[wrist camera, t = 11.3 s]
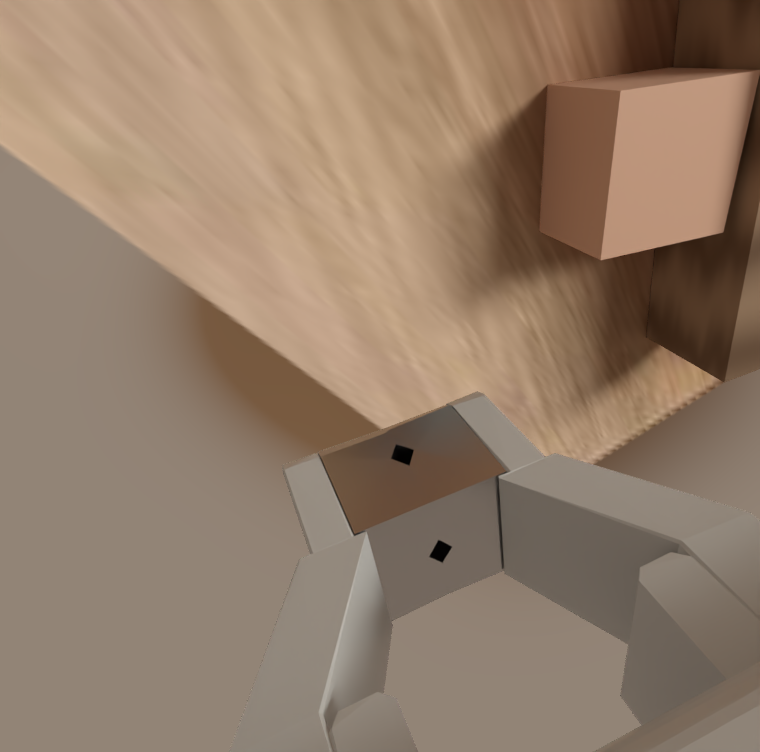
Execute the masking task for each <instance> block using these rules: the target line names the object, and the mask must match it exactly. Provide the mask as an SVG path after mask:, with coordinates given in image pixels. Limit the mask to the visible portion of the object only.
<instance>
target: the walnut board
mask: <svg viewBox="0 0 760 752" xmlns="http://www.w3.org/2000/svg"><path fill="white" fill-rule="evenodd" d="M673 67H675V68H709V69H743V70H760V0H680V1H679V11H678V22H677V32H676V42H675V52H674V62H673ZM646 337H647V338H649V339H651V340H652V341H654V342H656V343H658V344H659V345H661V346H663V347H664V348H666V349H668V350H670V351H671V352H673V353H675V354H676V355H678V356H680V357H682V358H683V359H685V360H687V361H688V362H690V363H692V364H694V365H695V366H697V367H699V368H700V369H702V370H704V371H706V372H707V373H709V374H711V375H713V376H714V377H716V378H718V379H719V380H721V381H723V382H727V381H730V380H732V379H735V378H737V377H740V376H743V375H745V374H748V373H750V372H753V371H756V370H758V369H760V76H759V80H758V84H757V89H756V93H755V97H754V102H753V106H752V110H751V115H750V119H749V123H748V128H747V132H746V136H745V141H744V145H743V149H742V154H741V158H740V162H739V167H738V171H737V175H736V180H735V184H734V188H733V193H732V197H731V201H730V206H729V210H728V214H727V219H726V223H725V227H724V232H723V233H719V234H715V235H710V236H706V237H701V238H697V239H693V240H688V241H684V242H679V243H675V244H671V245H666V246H662V247H657V248H655V254H654V264H653V274H652V284H651V295H650V305H649V315H648V325H647V335H646Z"/></svg>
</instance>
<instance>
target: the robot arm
mask: <svg viewBox="0 0 760 752" xmlns="http://www.w3.org/2000/svg"><path fill="white" fill-rule="evenodd" d="M282 469H283V474H284V477H285V480H286V483H287V486H288V489H289V492H290V495H291V498H292V501H293V504H294V507H295V510H296V513H297V516H298V519H299V522H300V525H301V528H302V531H303V534H304V537H305V540H306V543H307V546H308V549H309V552H310V555H308V556H306V557H303V558H301V559H299V561H298V564H297V567H296V569H295V572H294V575H293V578H292V580H291V583H290V586H289V589H288V591H287V594H286V597H285V600H284V602H283V605H282V608H281V611H280V613H279V616H278V619H277V621H276V624H275V627H274V630H273V633H272V635H271V638H270V641H269V643H268V646H267V649H266V652H265V654H264V657H263V660H262V663H261V665H260V668H259V671H258V674H257V677H256V679H255V682H254V685H253V687H252V690H251V693H250V696H249V698H248V701H247V704H246V707H245V710H244V712H243V715H242V718H241V720H240V724H239V726H238V729H237V732H236V734H235V737H234V740H233V742H232V745H231V748H230V751H229V752H418V751H417V748H416V745H415V743H414V741H413V738H412V736H411V733H410V731H409V728H408V726H407V723H406V721H405V718H404V716H403V713H402V711H401V708H400V706H399V703H398V701H397V698H395V697H392V696H389V695H385V694H384V686H385V679H386V671H387V664H388V656H389V649H390V641H391V634H392V626H393V625H392V621H393V620H395V619H397V618H399V617H401V616H404V615H406V614H408V613H410V612H411V611H414V610H416V609H418V608H420V607H422V606H424V605H426V604H428V603H430V602H432V601H434V600H436V599H439V598H441V597H443V596H445V595H447V594H449V593H451V592H454V591H456V590H459V589H461V588H463V587H466V586H468V585H471V584H473V583H475V582H478V581H480V580H482V579H485V578H487V577H490V576H492V575H494V574H497V573H499V572H502V571H504V572H505V574H506V575H508V576H510V577H512V578H513V579H515V580H517V581H519V582H520V583H522V584H524V585H525V586H527V587H529V588H531V589H533V590H534V591H536V592H538V593H539V594H541V595H543V596H545V597H547V598H548V599H550V600H552V601H553V602H555V603H557V604H559V605H560V606H562V607H564V608H566V609H568V610H569V611H571V612H573V613H574V614H576V615H578V616H579V617H581V618H583V619H585V620H587V621H588V622H590V623H592V624H593V625H595V626H597V627H599V628H601V629H602V630H604V631H606V632H607V633H609V634H611V635H613V636H615V637H616V638H618V639H620V640H621V641H623V642H625V643H627V644H628V649H627V655H626V663H625V668H624V675H623V682H622V688H621V695H620V696H621V697H622V699H623V700H624V701H625V703H626V704H627V706H628V707H629V708H630V710H631V711H632V713H633V714H634V716H635V717H636V718H637V720H638V721H639V723H640V724H641V725H642V726H640V727H638V728H636V729H634V730H632V731H631V732H629V733H627V734H625V735H623V736H622V737H620V738H618V739H616V740H614V741H612V742H610V743H608V744H607V745H605V746H603V747H601V748H599V749H598V750H596V751H594V752H760V520H759V519H757V518H756V517H755V516H754V515H752V514H751V513H750V512H747V511H744V510H740V509H737V508H734V507H731V506H727V505H724V504H721V503H718V502H714V501H711V500H707V499H704V498H701V497H698V496H695V495H691V494H688V493H684V492H681V491H678V490H675V489H671V488H668V487H665V486H662V485H658V484H655V483H652V482H648V481H645V480H642V479H638V478H635V477H632V476H628V475H625V474H622V473H619V472H615V471H612V470H609V469H605V468H602V467H598V466H596V465H592V464H589V463H586V462H583V461H579V460H576V459H573V458H569V457H566V456H563V455H559V454H556V453H554V454H552V455H549V456H547V457H545V456H544V455H543V454H542V453H541V452H540V451H539V450H538V449H537V448H536V447H535V446H534V445H533V444H532V443H531V442H530V441H529V440H528V439H527V437H526V436H525V435H524V434H523V433H522V432H521V431H520V430H519V429H518V428H517V427H516V426H515V425H514V424H513V423H512V422H511V421H510V420H509V419H508V418H507V417H506V416H505V415H504V414H503V413H502V412H501V411H500V410H499V409H498V408H497V407H496V406H495V405H494V404H493V403H492V402H491V401H490V400H489V399H488V398H487V396H486V395H485V394H483V393H480V392H475V393H472V394H470V395H467V396H465V397H462V398H460V399H457V400H455V401H452V402H450V403H447V404H446V405H445V406H442V407H439V408H436V409H434V410H431V411H429V412H426V413H423V414H421V415H418V416H416V417H413V418H410V419H408V420H405V421H403V422H400V423H397V424H395V425H392V426H390V427H387V428H384V429H381V430H379V431H376V432H373V433H370V434H367V435H364V436H362V437H359V438H356V439H353V440H350V441H348V442H345V443H342V444H339V445H336V446H333V447H330V448H327V449H325V450H322V451H319V452H318V455H317V454H316V453H315V454H312V455H310V456H307V457H304V458H301V459H298V460H295V461H293V462H290V463H287V464H284V465H282Z"/></svg>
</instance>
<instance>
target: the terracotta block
mask: <svg viewBox="0 0 760 752" xmlns="http://www.w3.org/2000/svg"><path fill="white" fill-rule="evenodd" d="M759 76H760V70H743V69H709V68H675V67H670V68H663V69H656V70H648V71H641V72H634V73H627V74H620V75H613V76H606V77H599V78H592V79H585V80H577V81H570V82H563V83H556V84H549V85H548V86H547V103H546V121H545V139H544V156H543V174H542V191H541V209H540V227H539V232H542V233H544V234H546V235H548V236H550V237H552V238H554V239H556V240H559V241H561V242H563V243H565V244H567V245H569V246H571V247H573V248H575V249H578V250H580V251H582V252H584V253H586V254H588V255H590V256H592V257H595V258H597V259H599V260H605V259H609V258H613V257H618V256H622V255H627V254H631V253H635V252H640V251H644V250H649V249H653V248H657V247H662V246H666V245H671V244H675V243H679V242H684V241H688V240H693V239H697V238H701V237H706V236H710V235H715V234H719V233H723V232H724V227H725V223H726V219H727V214H728V210H729V206H730V201H731V197H732V193H733V188H734V184H735V180H736V175H737V171H738V167H739V162H740V158H741V154H742V149H743V145H744V141H745V136H746V132H747V128H748V123H749V119H750V115H751V110H752V106H753V102H754V97H755V93H756V89H757V84H758V80H759Z"/></svg>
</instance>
